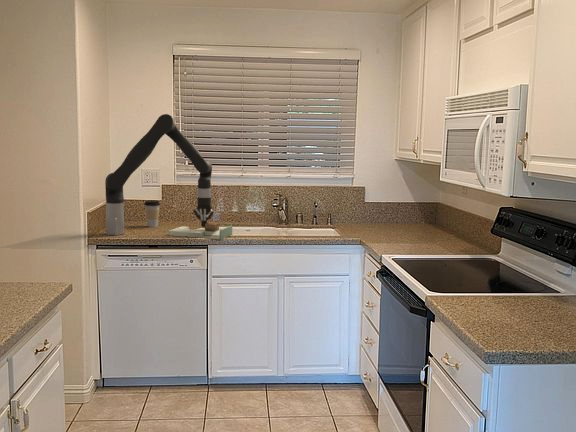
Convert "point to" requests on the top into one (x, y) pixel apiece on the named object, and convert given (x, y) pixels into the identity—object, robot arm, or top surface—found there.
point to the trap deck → (201, 232)
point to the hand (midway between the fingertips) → (204, 227)
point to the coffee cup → (152, 213)
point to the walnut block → (211, 226)
